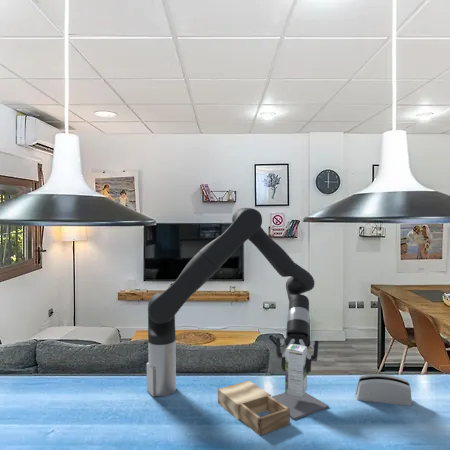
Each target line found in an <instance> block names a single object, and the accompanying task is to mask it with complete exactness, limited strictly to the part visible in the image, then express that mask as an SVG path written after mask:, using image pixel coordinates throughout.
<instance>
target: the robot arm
mask: <svg viewBox="0 0 450 450" xmlns="http://www.w3.org/2000/svg"><path fill="white" fill-rule="evenodd" d="M262 224H263V216H262V214H261V213H260V211H259V210H257V209H255V208H252V207H242V208H239V209H237V210H235V212H234V213H233V215H232V219H231V224H230V225H229V227H227V229H226V230H225V231H224V232H223V233H221V235H219V236H217V237H216V238H215V239H213V240H211V241H210V242H209V243H207V244H205V245H204V246H203V247H202V248H201V249H199V251H198V252H197V253H196V254H194V256H193V257H191V259H189V261H188V262H187V264H186V265H185V267H184V268H183V269H182V270H181V272H180V274H179V275H178V277H177V278H176V279H175V280H174V282H173V283H172V284H171V285H170V286H169V287H168V288H166V289H165V291H162V292H157V293H155V294H154V295H152V296H151V297H150V299H149V300H148V303H147V319H148V321H147V323H148V325H147V336H148V337H147V338H148V339H147V340H148V342H147V345H148V349H147V350H148V352H147V353H148V358H147V359H148V362H146V391H147V392H148V393H149V394H150V396H151V397H152V398H153V397H154V398H155V397H165V396H169V395H172V394H174V393H175V392H176V390H177V372H176V371H177V367H176V366H177V365H176V359H177V357H176V356H177V354H176V346H177V345H176V315H177V314H178V312H179V311H180V310H181V308H182V307H183V306H184V304H185V303H186V302H187V301H188V300H189V299H190V297H192V296H193V295H194V294H195V293H196V292H197V291H198V290H199V289H200V288H201V287H202V286H203V285H204V284H206V283H207V281H209V280H210V279H211V278H212V277H213V276H214V275H215V274H216V272H218V271H219V269H220V268H221V267H222V266H223V265H224V264H225V263H226V262H227V261H228V259H229V258H231V256H232V255H233V254H234V253H235V252H236V251H237V249H238V248H240V246H242V245H243V244H244V243H245V242H247V240H248V241H250V242H251V243H252V244H253V246H255V247H256V249H257V250H258V251H259V252H260V253H261V254H262V255H263V257H264V258H265V259H266V260H267V261H268V263H269V264H270V265H271V267H273V269H275V271H276V272H277V274H279V276H281V277H282V278H283V277H284V278H286V277H287V278H288V277H289V278H288V279H287V280H286V282H285V288H286V293H287V297H288V311H287V312H288V313H287V317H286V318H287V319H286V335H285V338H282V339H281V338H280V337H276V340H275V342H276V347H275V348H276V357H277V358H278V359H281V364H280V365H281V369H282V370H283V372H285V358H286V349H287V348H288V347H289V345H290V344H297V345H303V346H306V347H307V355H306V357H307V360H306V374H307V375H308V374H309V373H311V371H312V362H317V360H318V354H319V345H320V344H319V343H320V342H319V341H318V340H315V341H313V340H311V339H310V324H311V323H310V300H309V298H308V296H306V295H305V294H304V293H307V292H310V291H312V290H314V287H315V279H314V277H313V276H312V274H311V273H310V272H308V270H306V269H305V268H303V267H302V266H300V265H299V264H297V263H296V262H294V260H293V259H292V258H291V256H290V255H289V254H288V252H286V251H285V250H284V249H283V248H282V247H281V246H280V245H279V244H278V243H277V242H276V241H275V240H274V239H272V238H271V237H270V236H269V235H268V234H267V233H266V231H264V229H263V228H262ZM284 344H285V346H286V347H285V350H284V351H283V352H282V350H281V347H283V345H284ZM310 346H311V348H312V350H313V354H312V355H310V351H309V350H308V348H309V347H310ZM309 375H310V374H309Z"/></svg>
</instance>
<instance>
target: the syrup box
mask: <svg viewBox="0 0 450 450" xmlns="http://www.w3.org/2000/svg"><path fill="white" fill-rule="evenodd" d="M285 349H286V348H285ZM307 350H308V348H307V347H306V346H303V345H297V344H290V345H289V347H288V348H287V349H286V358H285V371H284V373H285V375H284V377H285V379H284V381H285V382H284V383H285V385H284V386H285V388H284V389H285V390H284V391H285V392H284V393H285V394H287V395H292V396H298V397H303V396H304V394H305V392H306V393H307V391H308V374H306V360H307V357H306V355H307Z"/></svg>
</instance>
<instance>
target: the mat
mask: <svg viewBox="0 0 450 450" xmlns="http://www.w3.org/2000/svg"><path fill="white" fill-rule="evenodd" d="M271 397H272V398H274V399H275V400H277V401H278V402H280V403H281V404H283V405H284V406H286V407H287V408H289V409H290V419H292V420H293V421H295V420H298V419H301V418H303V417H306V416H309V415H312V414H315V413H318V412H320V411H323V410H326V409H328V408H330V406H329V404H327V403H325V402H324V401H322V400H319V399H318V398H316V397H314V396H312V395H310V393H308V392H307V391H306V392H305V394H304V396H303V397H298V396H292V395H287V394H285V392H283V393H278V394H275V395H271Z"/></svg>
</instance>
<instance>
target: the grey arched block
mask: <svg viewBox="0 0 450 450" xmlns="http://www.w3.org/2000/svg"><path fill="white" fill-rule="evenodd" d="M411 388H412V387H411V385H410V382H409V381H408V380H407V379H404V378H401V377H399V376H397V375H396V376H395V375H391V374H381V373H372V374H363V375H360V376H359V377H358V382H357V387H356V390H355V395H356V396H355V397H356V398H355V399H356V400H357V401H362V400H363V401H365V402H371V401H372V402H374V403H381V404H391V405H400V406H409V407H412V406H413V402H412V399H413V398H412V389H411ZM372 402H371V403H372Z"/></svg>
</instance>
